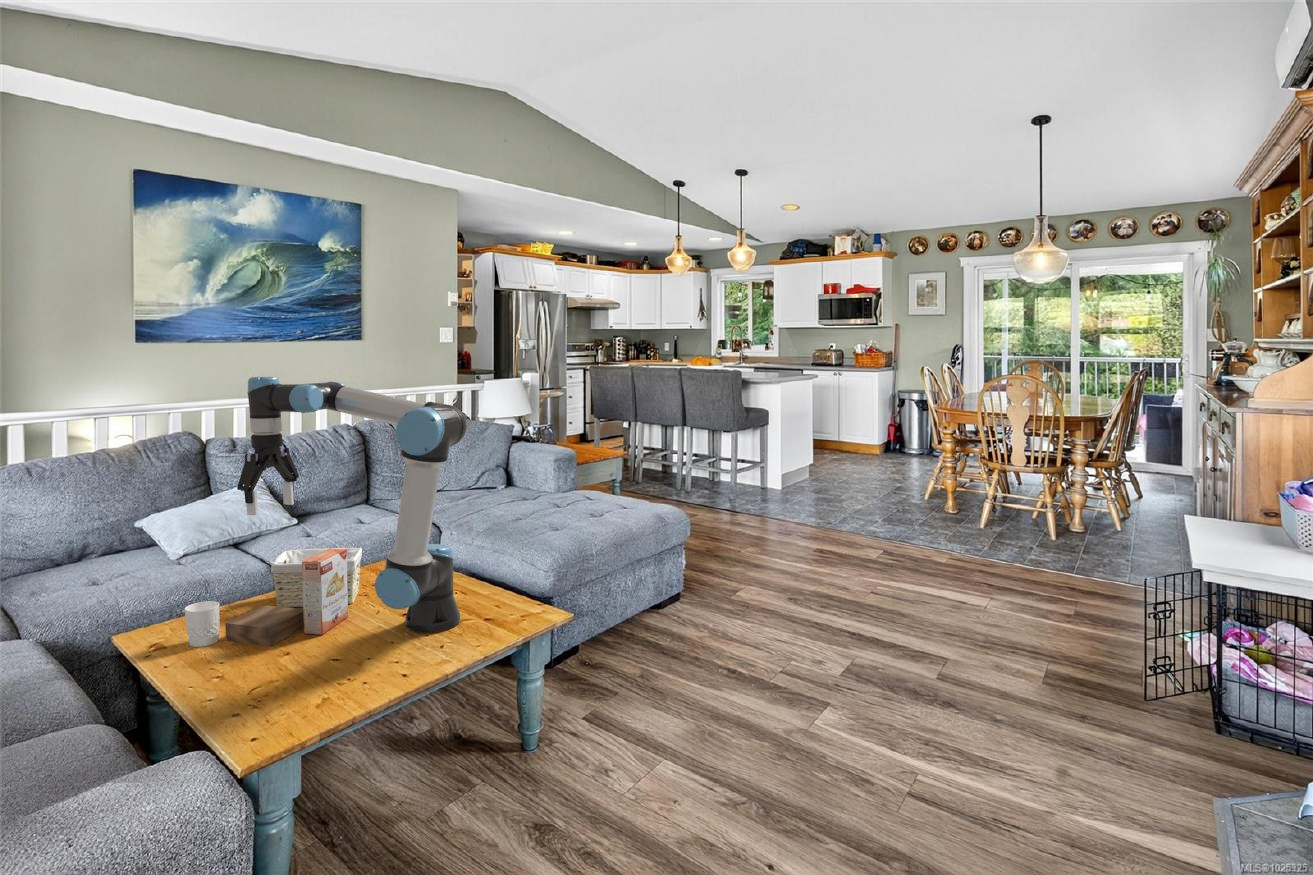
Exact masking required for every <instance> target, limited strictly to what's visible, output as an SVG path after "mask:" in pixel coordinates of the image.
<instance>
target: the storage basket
mask: <svg viewBox="0 0 1313 875" xmlns="http://www.w3.org/2000/svg"><path fill="white" fill-rule="evenodd" d="M331 548H332V549H346V550H347V591H348V605H351V604H354V602H355V599H356V598H357V596H358V593H359V590H360V578H361V575H360V573H361V568H360V567H361V559H362V556H363V548H361V547H331ZM327 549H329V548H305V549H304V548H302V549H291V550H284V551H282V552H281V553H280V554H279V555H278V556H277V557H276V559H274V561H273V562H272V564H271V567H270V568H271V569H270V571H271V572H270V573H271V574H272V576H273V581H274V590H275V591H274V592H275V599H276V605H277V606H276V607H286V608H299V607H300V608H303V582H302V561H304V560H306V559H308V558H310V557H312V556H315V555H317V554H319V553H321V552H323V551H325V550H327Z"/></svg>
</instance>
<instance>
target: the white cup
mask: <svg viewBox="0 0 1313 875" xmlns="http://www.w3.org/2000/svg"><path fill="white" fill-rule="evenodd" d="M184 616H185V617H184V618H185V619H184V620H185V627H186V631H187V636H188V644H189V646H191V647H193V648H201V647H207V646H211V645H214V644H215V643H217V642H219V640H220V602H219V601H216V600H215V601H214V600H208V601H200V602H196V603H192V604H189V605H187V606H186V607H184Z"/></svg>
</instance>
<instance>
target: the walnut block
mask: <svg viewBox="0 0 1313 875" xmlns="http://www.w3.org/2000/svg"><path fill="white" fill-rule="evenodd" d="M224 626H225V627H224V628H225V641H226V642H233V643H240V644H241V643H242V644H249V645H258V646H259V645H260V646H265V647H266V646H268V647H272V646H274V645H276V644H278V643H280V642H282V641H284V640H285V639H287V638H289V637H290V636H293V635H294V634H296V633H298V632H300V631H301V630H304V614H303V608H297V607H290V608H286V607H278V606H275V605H267V604H264V605H262V606H260V607H257V608H255V609H253V610H251V611H248V612H246V613H244V614H241V615H240V616H237V617H235V618H233V619H231V620H228V621H226V622H225V623H224Z"/></svg>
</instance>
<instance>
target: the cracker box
mask: <svg viewBox="0 0 1313 875" xmlns="http://www.w3.org/2000/svg"><path fill="white" fill-rule="evenodd" d="M332 548H333V547H330V548H329V549H328V548H326V549H327V550H325V551H323V552H321V553H319V554H317V555H315V556H312V557H310V558H308V559H306V560H304V561H302V582H303V607H302V609H303V614H304V629H303V633H304V635H319V636H321V635H322V636H323V635H324V634H326V633H327V632H329V631H330V630H331V629H334V627H336V626H337V625H338V624H340V623H342V622H343V621H344V620H346V619H347V618H349V604H348V591H347V550H346V549H332Z"/></svg>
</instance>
